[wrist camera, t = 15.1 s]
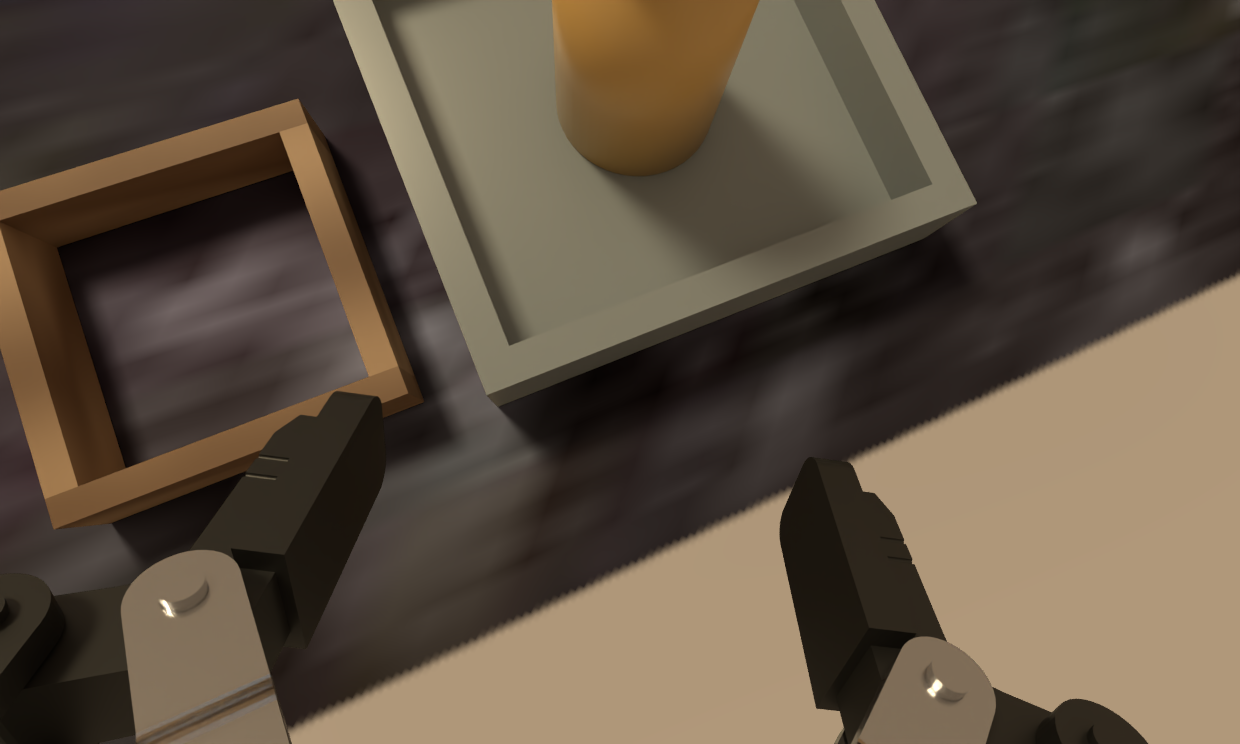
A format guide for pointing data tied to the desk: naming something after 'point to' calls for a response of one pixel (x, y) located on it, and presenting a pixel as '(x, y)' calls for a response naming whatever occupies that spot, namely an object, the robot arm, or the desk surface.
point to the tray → (644, 178)
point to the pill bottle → (643, 76)
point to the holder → (55, 343)
